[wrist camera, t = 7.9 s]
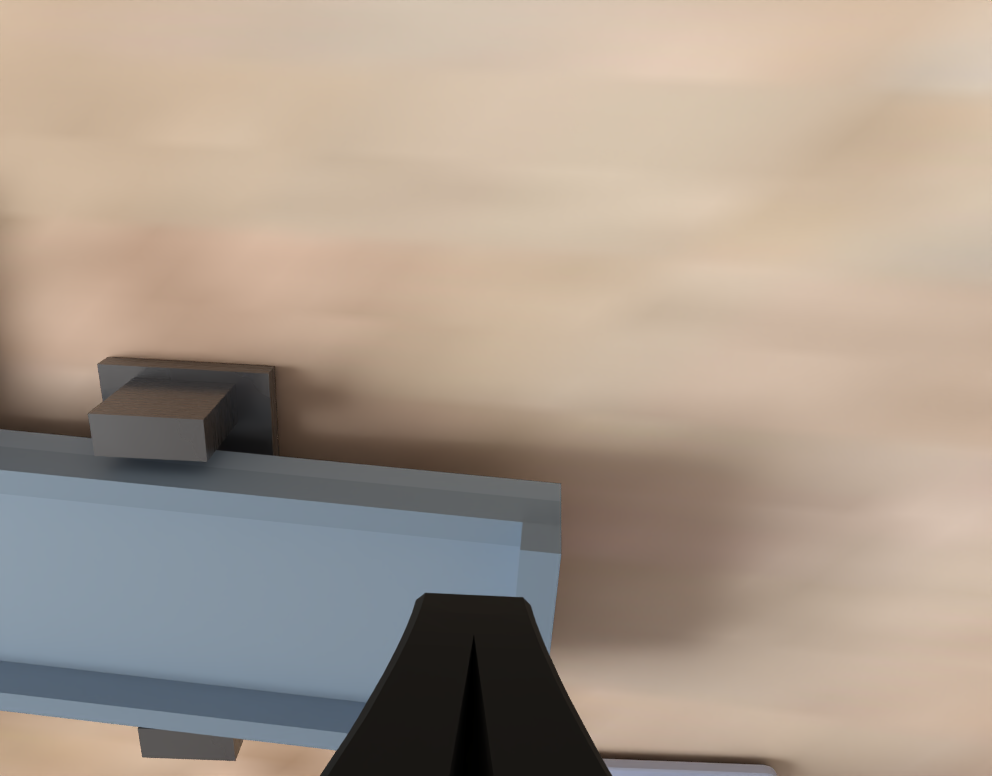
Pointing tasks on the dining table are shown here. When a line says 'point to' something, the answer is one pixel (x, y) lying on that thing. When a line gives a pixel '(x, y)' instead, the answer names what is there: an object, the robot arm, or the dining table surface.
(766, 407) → the dining table surface
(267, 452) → the stand
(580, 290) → the dining table surface
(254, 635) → the blue-grey piece
